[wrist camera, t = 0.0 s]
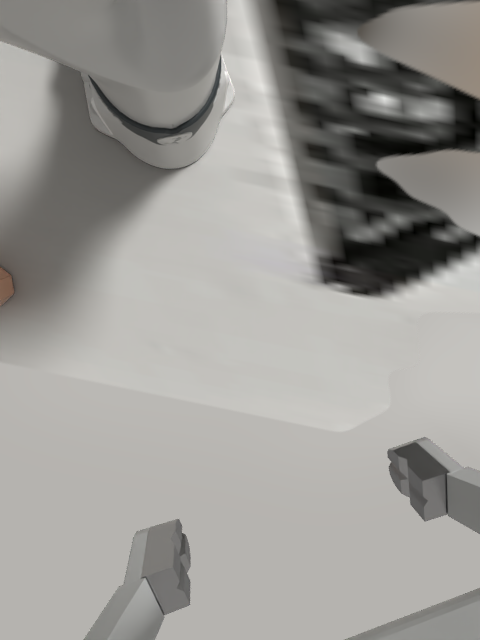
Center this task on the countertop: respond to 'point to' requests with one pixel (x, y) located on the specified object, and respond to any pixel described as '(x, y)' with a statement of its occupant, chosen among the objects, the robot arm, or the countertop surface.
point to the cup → (5, 286)
